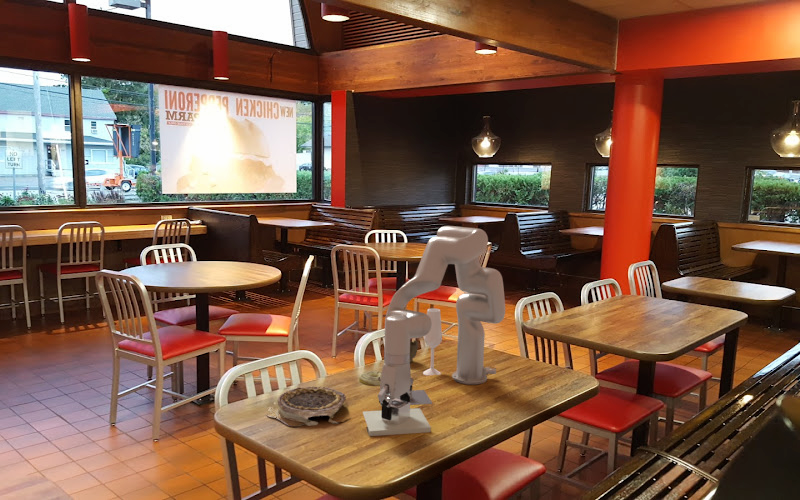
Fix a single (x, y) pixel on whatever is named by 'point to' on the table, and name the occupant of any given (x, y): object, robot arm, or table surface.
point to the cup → (413, 349)
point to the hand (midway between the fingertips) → (395, 413)
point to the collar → (399, 412)
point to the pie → (309, 404)
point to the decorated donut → (371, 378)
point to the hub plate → (381, 427)
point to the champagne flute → (433, 337)
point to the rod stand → (417, 397)
